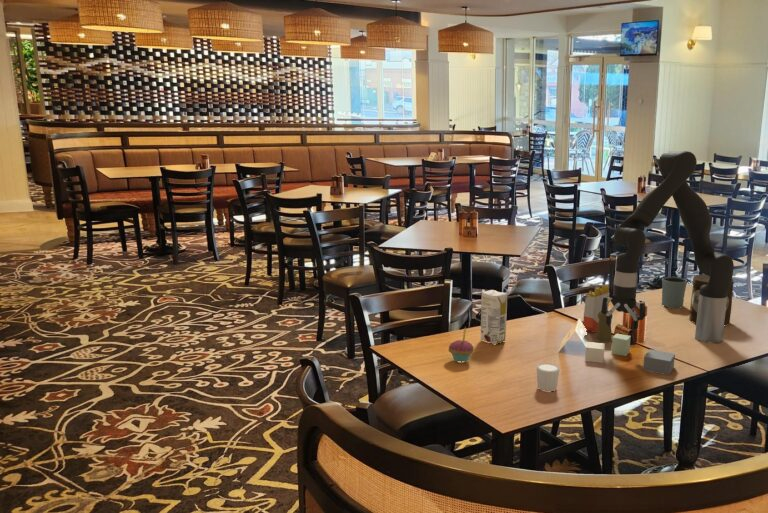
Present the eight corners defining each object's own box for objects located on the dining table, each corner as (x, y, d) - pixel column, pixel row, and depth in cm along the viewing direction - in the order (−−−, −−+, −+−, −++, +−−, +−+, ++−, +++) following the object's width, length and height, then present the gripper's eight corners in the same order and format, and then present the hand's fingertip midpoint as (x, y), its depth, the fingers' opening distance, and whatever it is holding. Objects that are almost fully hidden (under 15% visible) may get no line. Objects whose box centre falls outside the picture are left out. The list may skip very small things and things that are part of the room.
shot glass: (532, 384, 202) (533, 363, 200) (553, 383, 202) (555, 362, 201) (539, 393, 195) (540, 372, 193) (561, 392, 196) (562, 371, 194)
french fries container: (581, 331, 251) (584, 287, 247) (596, 325, 258) (599, 282, 254) (592, 334, 247) (595, 289, 243) (607, 328, 254) (610, 284, 250)
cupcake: (459, 354, 227) (459, 322, 225) (478, 360, 222) (479, 327, 219) (443, 360, 222) (444, 327, 219) (462, 367, 216) (463, 333, 213)
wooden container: (686, 323, 259) (692, 270, 255) (691, 313, 272) (696, 263, 267) (728, 329, 252) (734, 275, 247) (730, 319, 264) (736, 267, 259)
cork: (613, 342, 238) (615, 314, 236) (596, 341, 240) (598, 313, 237) (610, 336, 244) (612, 309, 242) (594, 335, 245) (596, 308, 243)
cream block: (585, 355, 226) (586, 341, 225) (603, 357, 224) (604, 343, 223) (585, 361, 221) (585, 347, 220) (603, 363, 219) (604, 349, 218)
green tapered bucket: (663, 308, 280) (665, 281, 277) (657, 301, 290) (659, 276, 287) (687, 309, 278) (690, 282, 276) (681, 302, 288) (683, 276, 286)
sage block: (615, 349, 231) (616, 333, 230) (629, 351, 229) (630, 336, 227) (611, 353, 227) (612, 337, 226) (625, 356, 225) (627, 340, 223)
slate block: (648, 363, 219) (649, 349, 218) (673, 367, 214) (674, 353, 213) (642, 370, 212) (644, 356, 211) (668, 375, 208) (670, 361, 207)
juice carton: (495, 346, 235) (497, 296, 231) (477, 340, 241) (478, 292, 237) (508, 341, 240) (510, 293, 236) (490, 336, 246) (491, 288, 242)
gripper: (649, 284, 222) (645, 329, 225) (607, 278, 230) (604, 321, 233) (644, 289, 216) (640, 334, 219) (601, 282, 224) (598, 327, 227)
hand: (621, 328), depth 226 cm, fingers open, 8 cm apart
